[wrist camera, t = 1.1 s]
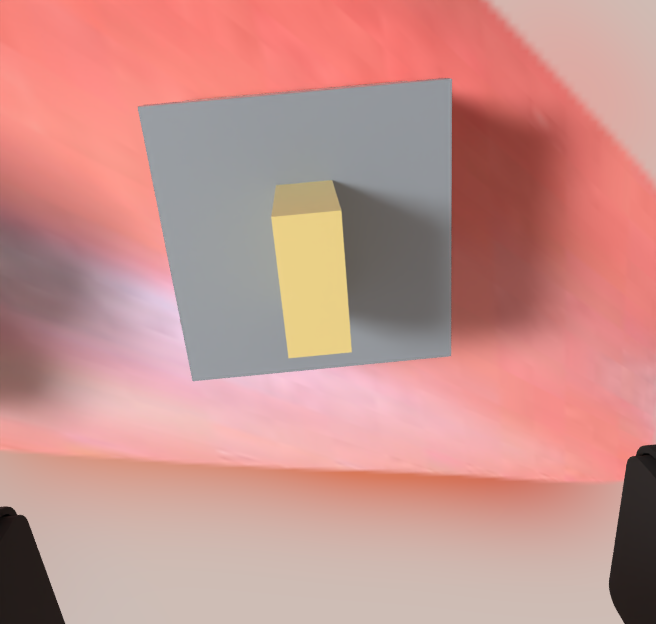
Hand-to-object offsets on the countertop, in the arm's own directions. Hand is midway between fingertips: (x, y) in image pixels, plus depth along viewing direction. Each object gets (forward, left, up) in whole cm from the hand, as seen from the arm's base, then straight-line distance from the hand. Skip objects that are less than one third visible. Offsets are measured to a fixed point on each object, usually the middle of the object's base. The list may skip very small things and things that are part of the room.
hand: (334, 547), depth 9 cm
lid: (0, 0, -17) cm, 17 cm away
